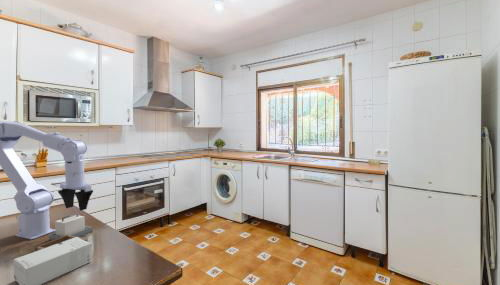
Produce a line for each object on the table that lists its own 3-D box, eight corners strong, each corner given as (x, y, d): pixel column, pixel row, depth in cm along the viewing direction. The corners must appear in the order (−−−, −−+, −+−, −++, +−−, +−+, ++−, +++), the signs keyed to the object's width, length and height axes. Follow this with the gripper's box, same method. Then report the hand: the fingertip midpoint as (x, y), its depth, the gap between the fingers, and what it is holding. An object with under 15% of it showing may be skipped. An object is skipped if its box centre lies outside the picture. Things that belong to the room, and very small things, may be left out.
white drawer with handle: (55, 238, 84) (54, 217, 84) (75, 230, 90) (75, 211, 90) (65, 240, 82) (64, 219, 82) (85, 232, 89) (84, 213, 89)
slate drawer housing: (48, 240, 83) (48, 234, 83) (77, 229, 93) (77, 224, 93) (64, 243, 81) (64, 238, 80) (92, 232, 90) (92, 226, 90)
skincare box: (92, 242, 69) (26, 268, 56) (92, 262, 69) (26, 292, 56) (76, 235, 73) (11, 258, 60) (76, 254, 73) (11, 281, 60)
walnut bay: (35, 256, 72) (34, 247, 72) (67, 243, 81) (66, 234, 81) (57, 262, 69) (56, 252, 69) (87, 247, 78) (87, 238, 78)
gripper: (50, 173, 87) (51, 209, 88) (76, 175, 82) (78, 214, 82) (70, 170, 94) (72, 204, 94) (96, 172, 88) (97, 208, 89)
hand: (76, 208), depth 89 cm, fingers open, 7 cm apart
